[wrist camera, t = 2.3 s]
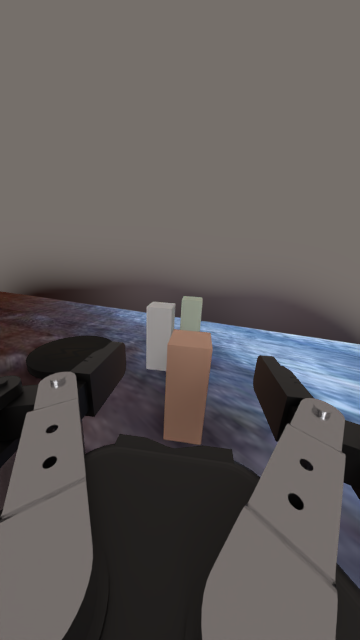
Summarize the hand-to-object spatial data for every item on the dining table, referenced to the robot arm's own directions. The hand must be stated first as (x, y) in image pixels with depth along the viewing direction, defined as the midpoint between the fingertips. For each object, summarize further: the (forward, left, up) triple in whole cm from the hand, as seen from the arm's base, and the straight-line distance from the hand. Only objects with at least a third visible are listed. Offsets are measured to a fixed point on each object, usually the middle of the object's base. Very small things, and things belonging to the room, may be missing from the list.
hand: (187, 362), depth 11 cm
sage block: (-1, +37, -17) cm, 41 cm away
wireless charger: (-27, +26, -18) cm, 42 cm away
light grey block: (-7, +27, -17) cm, 33 cm away
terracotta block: (0, +11, -17) cm, 21 cm away
